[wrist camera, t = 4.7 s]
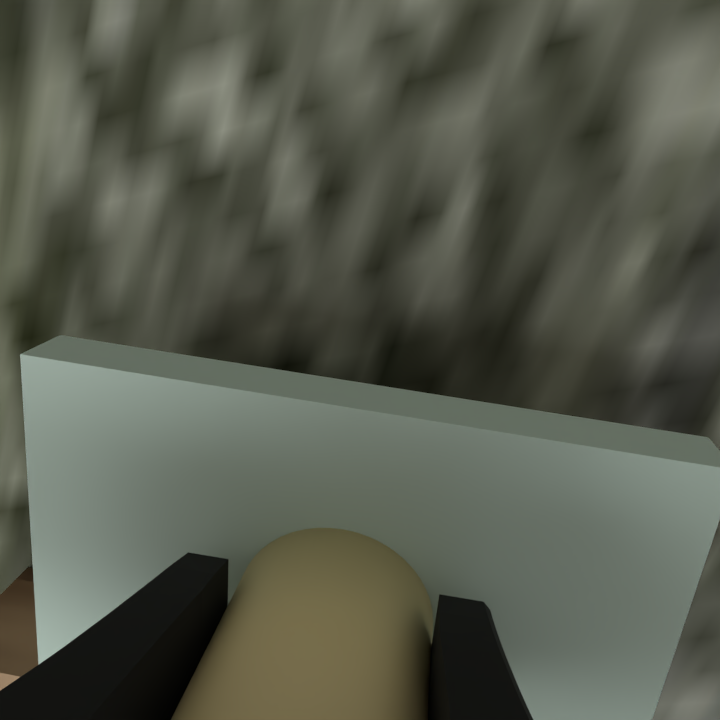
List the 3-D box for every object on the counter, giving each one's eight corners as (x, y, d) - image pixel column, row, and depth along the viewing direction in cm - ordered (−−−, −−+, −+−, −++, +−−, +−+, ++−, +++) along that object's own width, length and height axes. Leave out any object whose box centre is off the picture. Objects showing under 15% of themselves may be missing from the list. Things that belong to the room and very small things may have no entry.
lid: (707, 437, 9) (916, 680, 5) (597, 785, 12) (679, 1158, 7) (60, 335, 10) (-218, 468, 6) (73, 674, 12) (-125, 946, 8)
